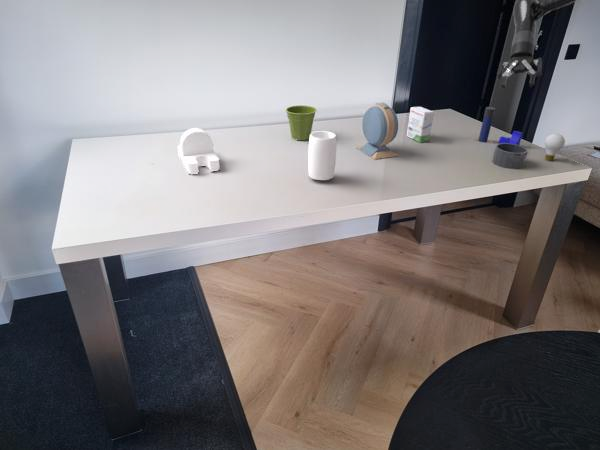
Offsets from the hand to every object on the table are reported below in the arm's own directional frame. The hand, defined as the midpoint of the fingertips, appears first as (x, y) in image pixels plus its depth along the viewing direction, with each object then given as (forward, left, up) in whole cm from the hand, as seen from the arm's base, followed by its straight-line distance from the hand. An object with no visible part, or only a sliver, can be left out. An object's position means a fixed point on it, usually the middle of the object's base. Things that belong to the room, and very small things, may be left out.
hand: (517, 86), depth 154 cm
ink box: (+31, +7, -22) cm, 39 cm away
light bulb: (-16, +11, -22) cm, 29 cm away
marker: (+7, 0, -22) cm, 23 cm away
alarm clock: (+42, +29, -22) cm, 56 cm away
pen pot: (-2, +21, -22) cm, 30 cm away
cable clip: (-1, +5, -22) cm, 23 cm away
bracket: (+94, +66, -22) cm, 116 cm away
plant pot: (+73, +27, -22) cm, 81 cm away
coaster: (+7, 0, -22) cm, 23 cm away
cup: (+52, +60, -22) cm, 82 cm away
